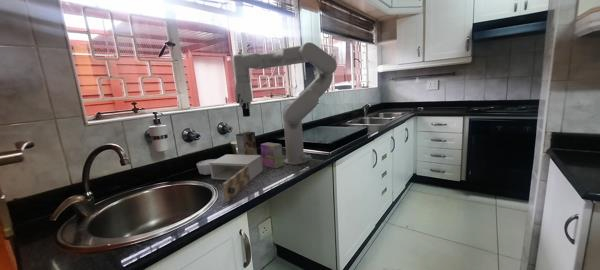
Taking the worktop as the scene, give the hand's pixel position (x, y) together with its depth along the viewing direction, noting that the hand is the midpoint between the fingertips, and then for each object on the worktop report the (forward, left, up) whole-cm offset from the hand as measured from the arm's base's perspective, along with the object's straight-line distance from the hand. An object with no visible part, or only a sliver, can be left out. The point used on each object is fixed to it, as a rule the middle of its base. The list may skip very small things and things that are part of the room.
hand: (246, 116), depth 131 cm
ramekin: (+18, +12, -27) cm, 35 cm away
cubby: (0, +14, -27) cm, 30 cm away
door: (-11, +32, -26) cm, 43 cm away
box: (-12, -1, -27) cm, 29 cm away
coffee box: (+7, -9, -27) cm, 29 cm away
